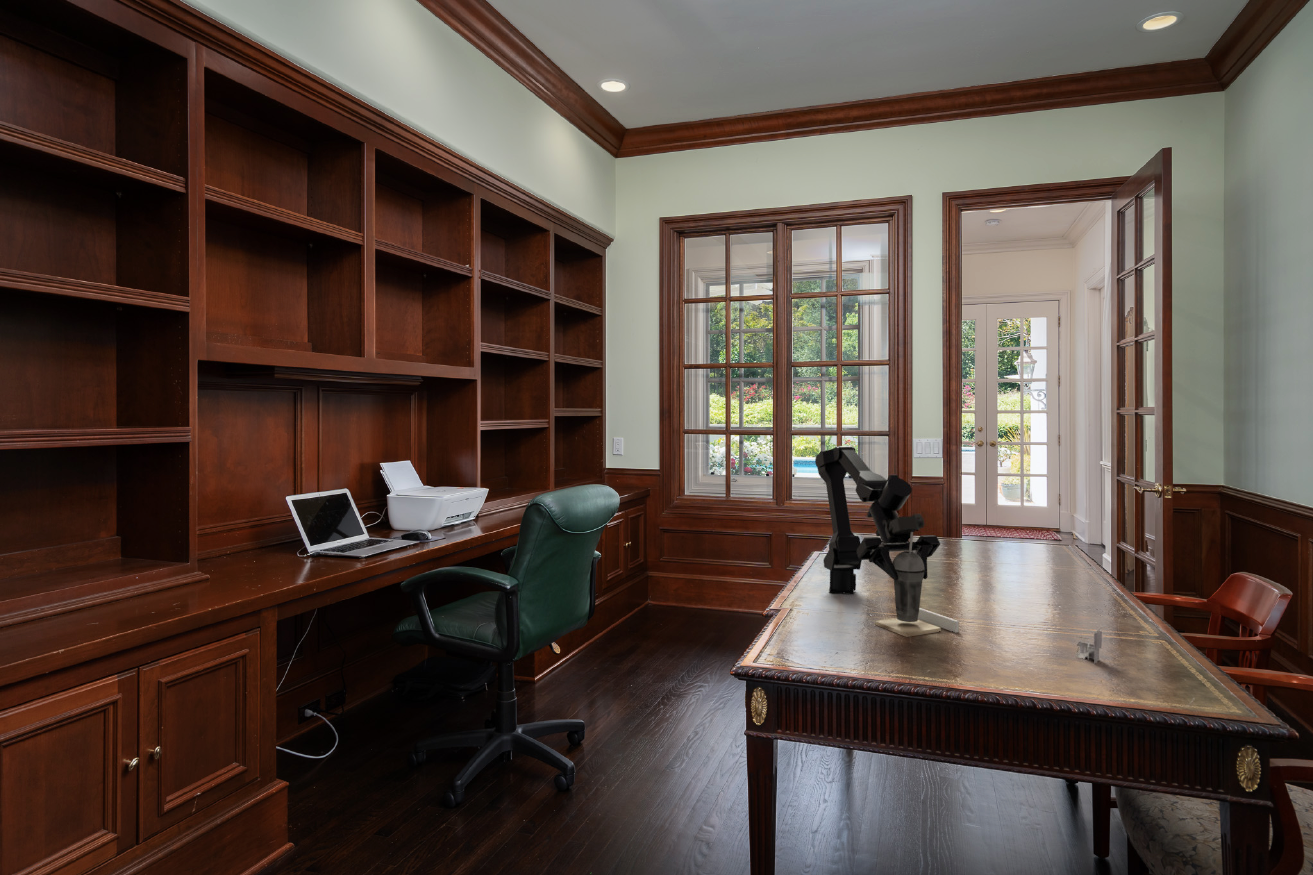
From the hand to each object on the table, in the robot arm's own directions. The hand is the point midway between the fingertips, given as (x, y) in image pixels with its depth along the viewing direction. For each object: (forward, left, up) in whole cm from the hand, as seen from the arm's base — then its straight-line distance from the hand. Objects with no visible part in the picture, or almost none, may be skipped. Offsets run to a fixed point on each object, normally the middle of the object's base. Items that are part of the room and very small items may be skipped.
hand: (911, 578), depth 162 cm
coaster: (-1, +1, -12) cm, 12 cm away
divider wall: (+5, +6, -12) cm, 14 cm away
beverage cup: (-1, +1, -10) cm, 10 cm away
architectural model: (+28, -14, -12) cm, 34 cm away
